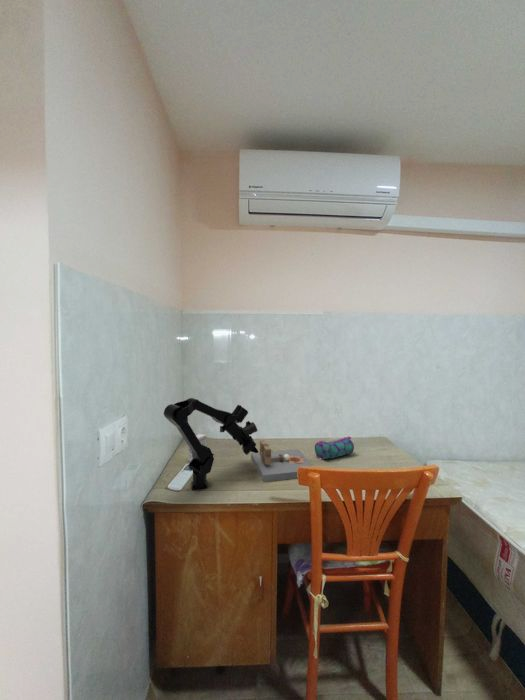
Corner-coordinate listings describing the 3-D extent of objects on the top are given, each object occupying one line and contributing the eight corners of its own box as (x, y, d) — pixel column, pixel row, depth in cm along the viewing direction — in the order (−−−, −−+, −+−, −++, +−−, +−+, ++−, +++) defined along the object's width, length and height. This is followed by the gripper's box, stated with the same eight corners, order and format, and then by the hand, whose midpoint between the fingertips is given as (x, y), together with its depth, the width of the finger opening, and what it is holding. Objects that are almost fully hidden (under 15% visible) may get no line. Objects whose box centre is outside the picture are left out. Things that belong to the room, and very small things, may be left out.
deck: (317, 475, 127) (317, 469, 127) (263, 482, 120) (263, 475, 120) (297, 454, 150) (297, 449, 150) (251, 458, 143) (251, 452, 143)
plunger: (286, 464, 130) (287, 447, 129) (265, 466, 127) (266, 449, 127) (279, 455, 140) (279, 439, 140) (259, 456, 138) (259, 441, 137)
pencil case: (324, 463, 141) (325, 444, 140) (313, 456, 149) (314, 438, 148) (354, 456, 150) (355, 438, 150) (343, 450, 158) (343, 433, 158)
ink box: (199, 455, 146) (200, 433, 146) (206, 457, 143) (207, 434, 143) (187, 460, 139) (188, 437, 138) (194, 463, 136) (195, 439, 136)
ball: (290, 461, 134) (290, 455, 134) (284, 461, 134) (284, 455, 134) (288, 458, 137) (288, 452, 137) (282, 459, 137) (282, 453, 136)
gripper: (251, 424, 120) (275, 446, 124) (243, 412, 138) (264, 432, 142) (233, 443, 119) (257, 465, 122) (227, 429, 137) (248, 449, 140)
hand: (257, 452), depth 132 cm, fingers closed
